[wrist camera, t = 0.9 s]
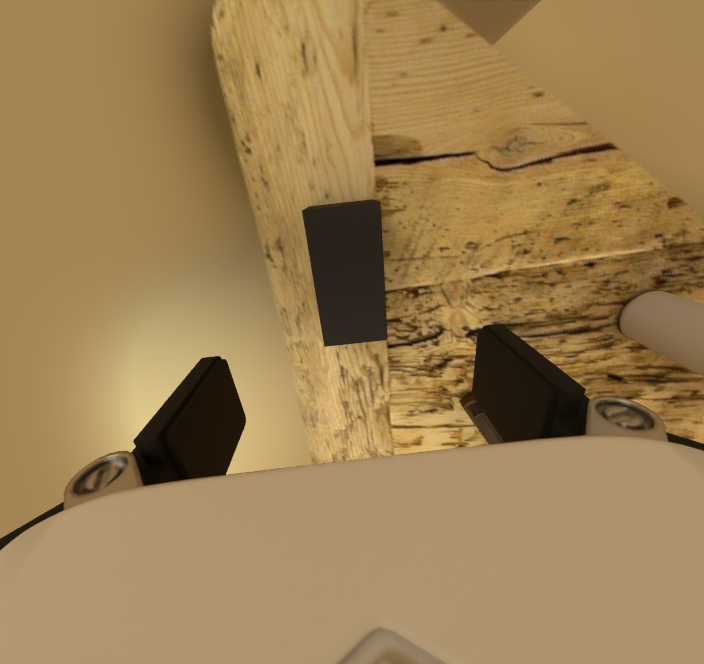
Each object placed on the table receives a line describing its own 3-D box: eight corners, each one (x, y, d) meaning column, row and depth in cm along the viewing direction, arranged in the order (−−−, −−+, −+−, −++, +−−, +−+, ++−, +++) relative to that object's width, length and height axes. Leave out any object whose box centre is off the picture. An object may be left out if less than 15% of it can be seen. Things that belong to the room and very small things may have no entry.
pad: (308, 206, 22) (301, 210, 18) (373, 199, 22) (380, 201, 18) (326, 325, 26) (324, 346, 23) (380, 319, 26) (387, 340, 23)
